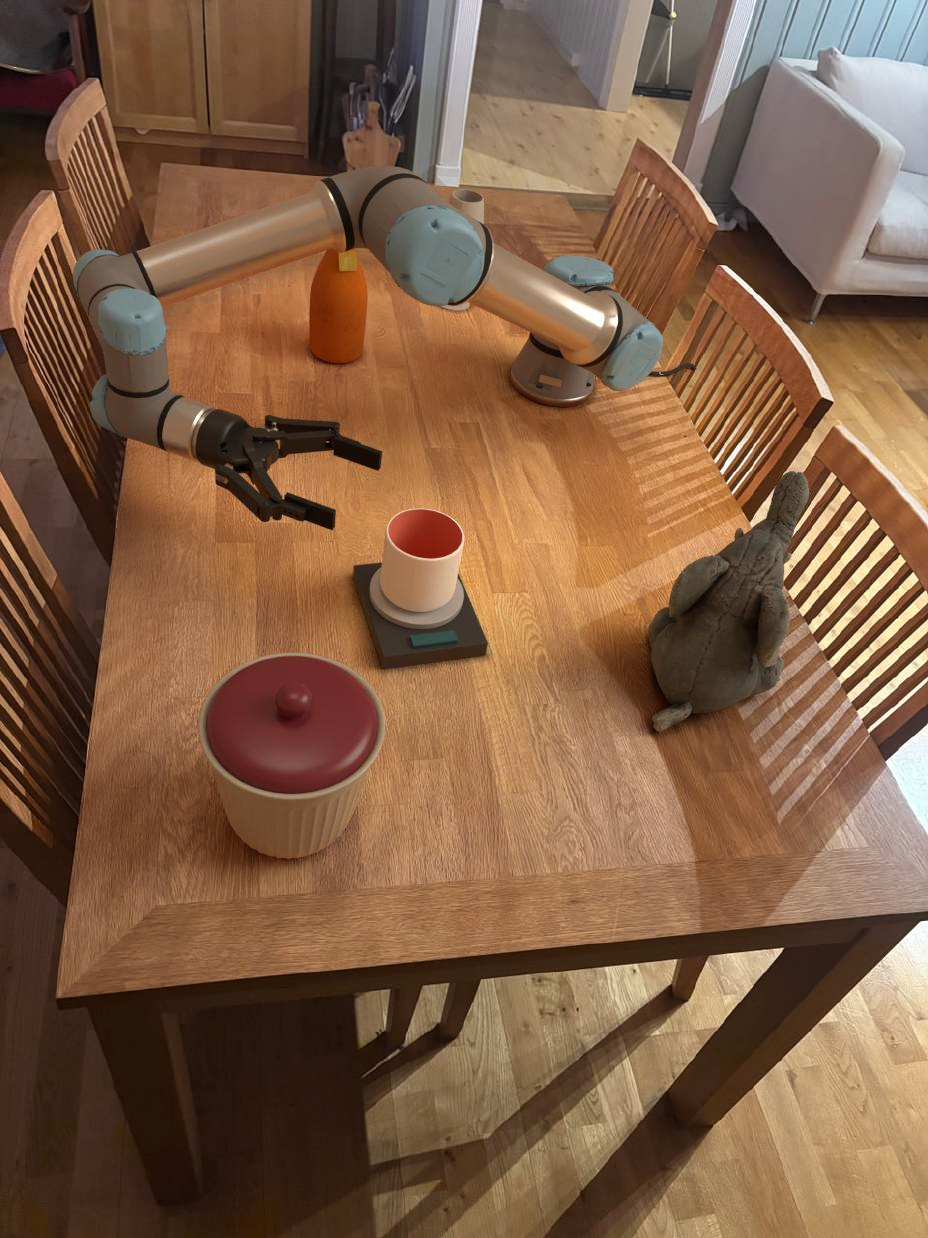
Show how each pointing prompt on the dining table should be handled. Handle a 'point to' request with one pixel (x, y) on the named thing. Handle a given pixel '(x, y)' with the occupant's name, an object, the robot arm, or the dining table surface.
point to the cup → (421, 559)
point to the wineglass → (474, 208)
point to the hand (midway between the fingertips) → (358, 489)
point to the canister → (291, 749)
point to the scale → (418, 625)
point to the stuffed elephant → (728, 616)
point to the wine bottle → (338, 308)
